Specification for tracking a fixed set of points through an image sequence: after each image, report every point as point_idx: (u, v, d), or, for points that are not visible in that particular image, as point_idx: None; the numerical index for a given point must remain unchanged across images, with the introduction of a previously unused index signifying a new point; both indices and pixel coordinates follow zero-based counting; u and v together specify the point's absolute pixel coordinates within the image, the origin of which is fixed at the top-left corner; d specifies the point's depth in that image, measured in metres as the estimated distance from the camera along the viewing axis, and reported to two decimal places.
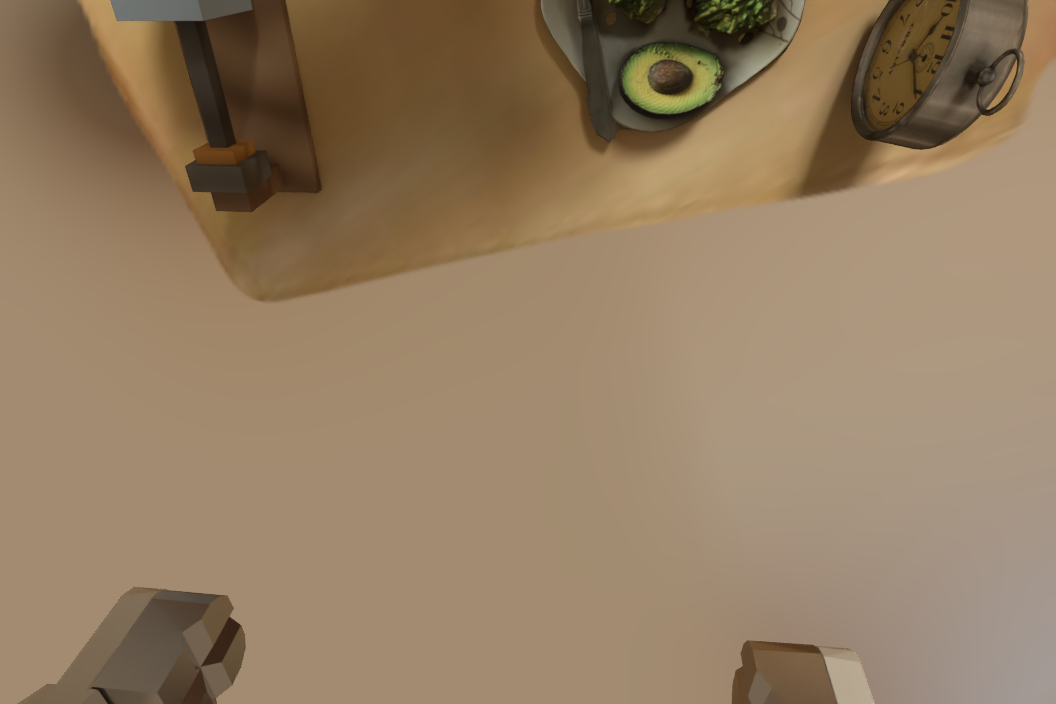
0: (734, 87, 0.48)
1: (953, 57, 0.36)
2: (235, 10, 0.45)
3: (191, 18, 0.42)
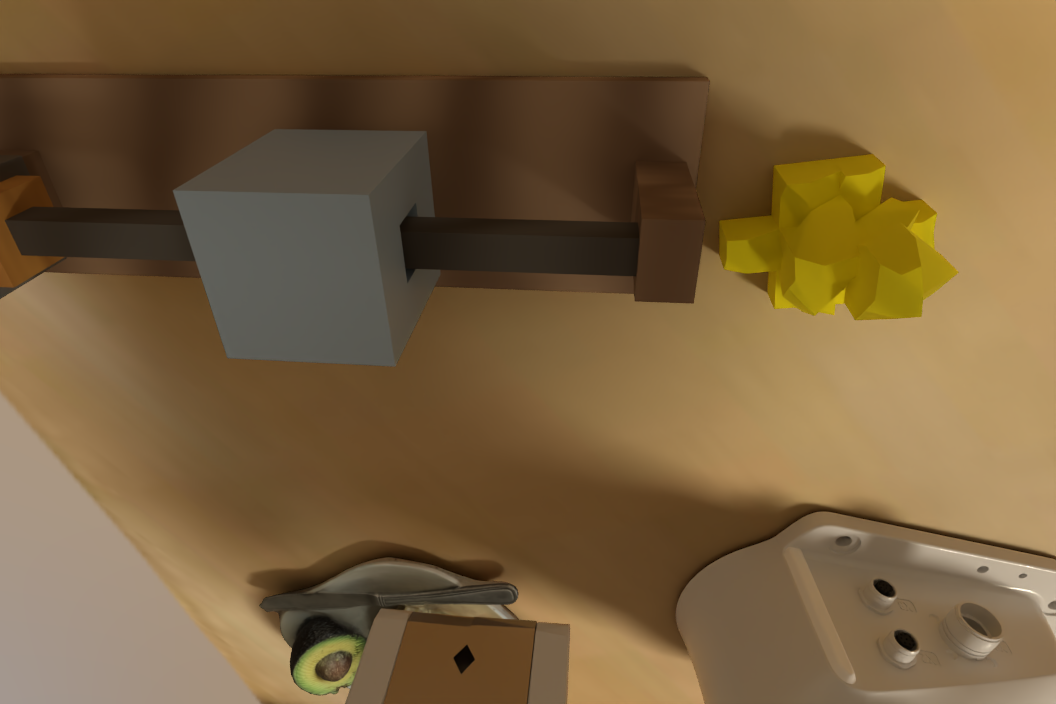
0: None
1: None
2: None
3: (225, 340, 0.22)
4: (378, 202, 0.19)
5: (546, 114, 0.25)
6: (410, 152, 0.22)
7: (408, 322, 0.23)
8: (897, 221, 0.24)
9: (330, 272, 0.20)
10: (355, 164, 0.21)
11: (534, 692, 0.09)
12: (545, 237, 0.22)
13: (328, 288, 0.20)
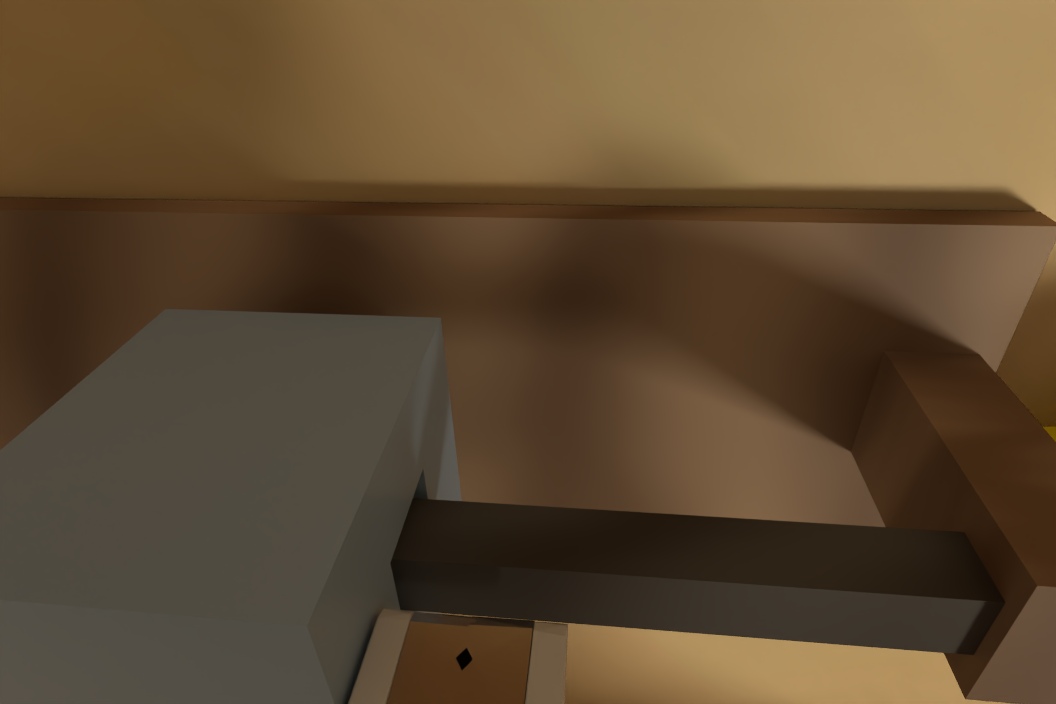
0: None
1: None
2: None
3: None
4: (335, 600, 0.08)
5: (731, 276, 0.14)
6: (412, 390, 0.11)
7: None
8: None
9: None
10: (293, 453, 0.10)
11: (531, 692, 0.09)
12: (795, 589, 0.10)
13: None
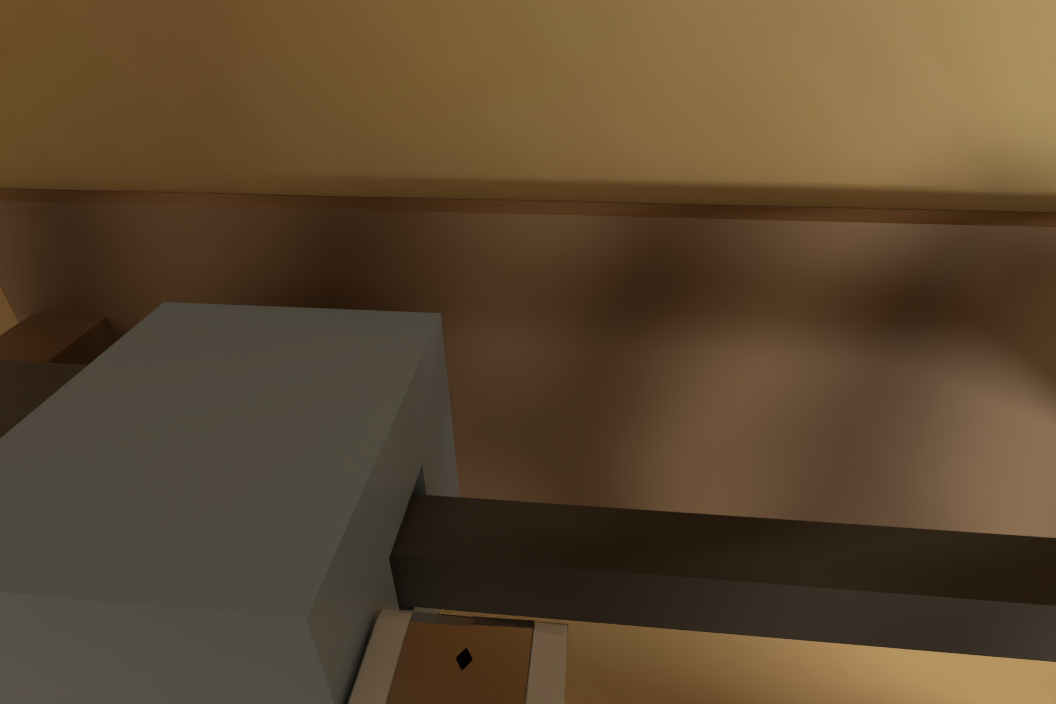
0: None
1: None
2: None
3: None
4: (334, 595, 0.08)
5: None
6: (412, 385, 0.11)
7: None
8: None
9: None
10: (293, 447, 0.10)
11: (532, 692, 0.09)
12: None
13: None
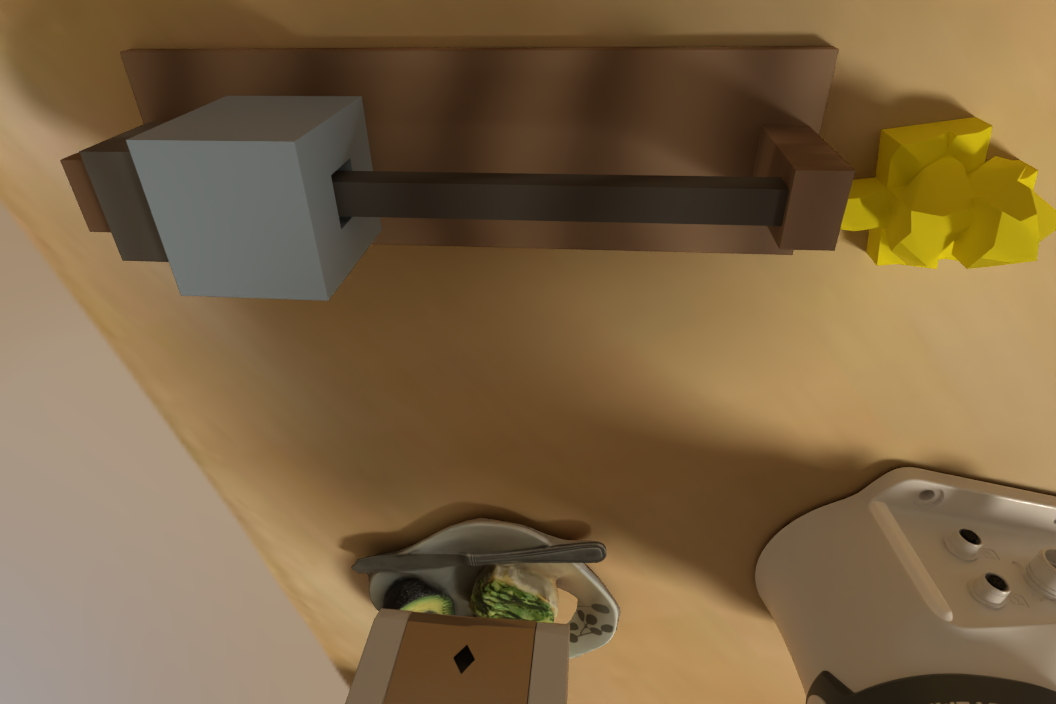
0: None
1: None
2: None
3: (177, 278, 0.25)
4: (305, 150, 0.22)
5: (681, 82, 0.27)
6: (343, 112, 0.25)
7: (343, 264, 0.26)
8: (1006, 176, 0.26)
9: (266, 213, 0.23)
10: (290, 120, 0.24)
11: (534, 692, 0.09)
12: (701, 189, 0.24)
13: (265, 228, 0.23)
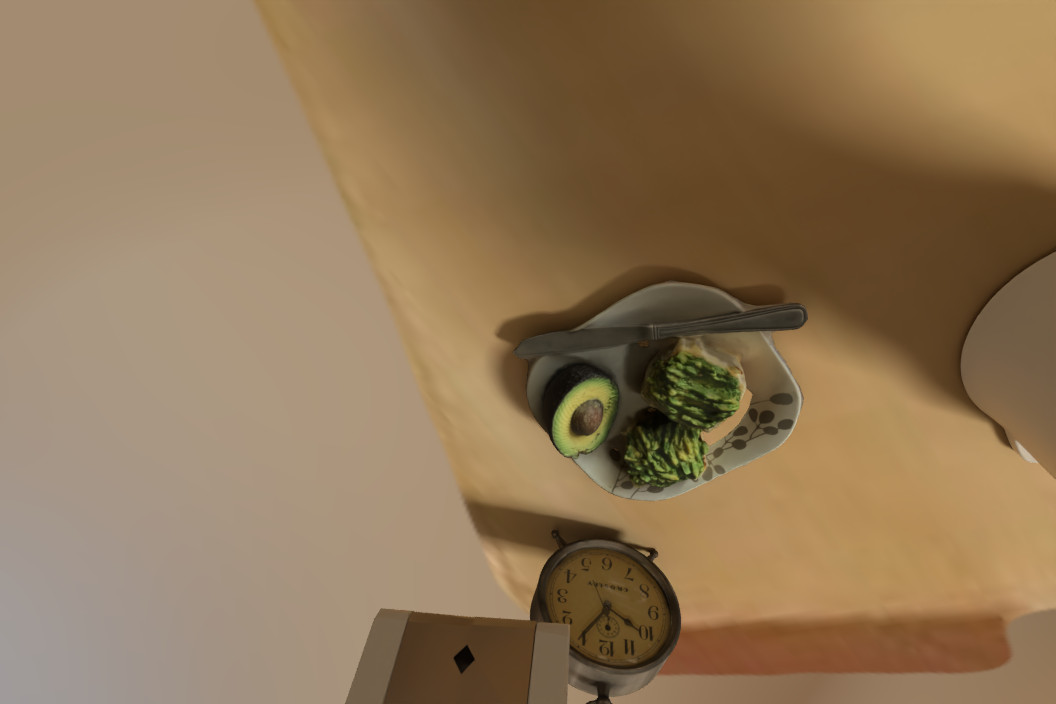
0: None
1: (616, 675, 0.44)
2: None
3: None
4: None
5: None
6: None
7: None
8: None
9: None
10: None
11: (534, 692, 0.09)
12: None
13: None
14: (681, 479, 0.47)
